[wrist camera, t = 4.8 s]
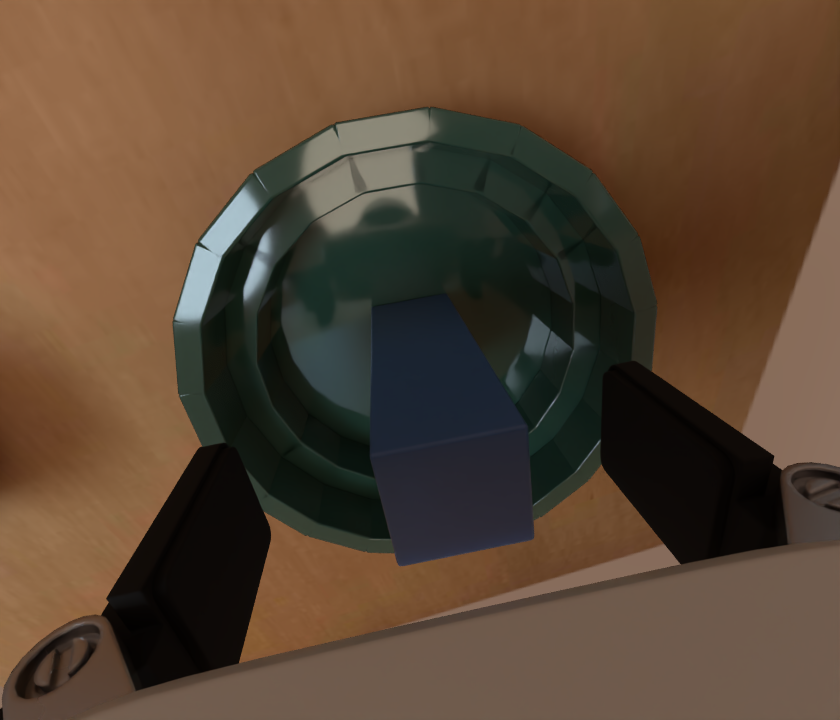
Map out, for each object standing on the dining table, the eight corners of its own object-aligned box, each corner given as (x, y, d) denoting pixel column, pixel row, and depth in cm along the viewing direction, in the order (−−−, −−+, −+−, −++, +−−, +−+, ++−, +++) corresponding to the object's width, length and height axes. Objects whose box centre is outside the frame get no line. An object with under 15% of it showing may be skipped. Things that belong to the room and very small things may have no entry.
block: (447, 292, 17) (529, 424, 8) (456, 361, 19) (535, 541, 10) (370, 306, 17) (368, 456, 8) (385, 374, 18) (397, 569, 9)
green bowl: (588, 95, 15) (679, 63, 11) (585, 441, 22) (640, 511, 17) (163, 169, 15) (71, 167, 10) (289, 499, 21) (267, 587, 17)
